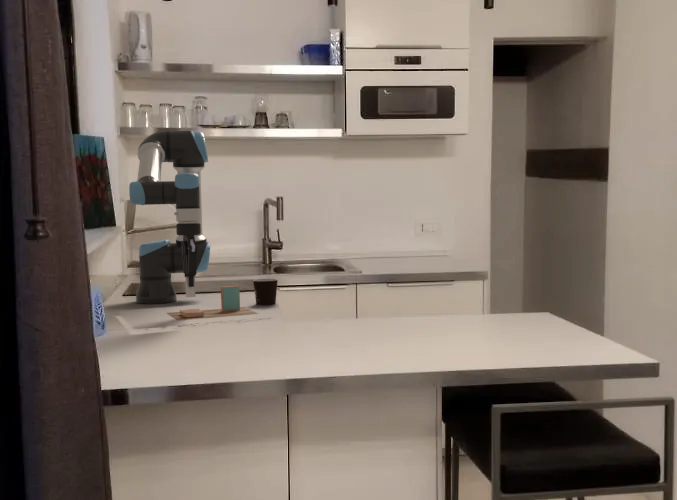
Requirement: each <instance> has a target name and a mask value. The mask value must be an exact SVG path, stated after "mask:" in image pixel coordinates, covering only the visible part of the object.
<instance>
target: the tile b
mask: <svg viewBox="0 0 677 500" xmlns="http://www.w3.org/2000/svg"><path fill="white" fill-rule="evenodd" d="M240 294H241V291H240V285H229V286H228V285H227V286H220V300H221V301H220V305H221V306H220V309H221V311H233V310H240V307H241V300H240V299H241V298H240V297H241V295H240Z"/></svg>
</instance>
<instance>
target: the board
mask: <svg viewBox="0 0 677 500" xmlns="http://www.w3.org/2000/svg"><path fill="white" fill-rule="evenodd" d="M200 310H201V311H203V312H204V316H203V317H192V318H185V317H184V316H182V315H181V314H180V311H177V312H175V311H174V312H166V314H168V315H169V316H170V317H172V319H174V320H176V321H186V320H188V321H189V320H199V319H211V318H212V319H213V318H220V317H222V318H223V317H237V316H246V315H247V316H248V315H258V314H259V313H258V312H256V311H254V310H251V309H249V308H247V307H244V306H240V310H233V311H221V308H213V309H212V308H211V309H200ZM253 319H257V318H253ZM241 320H244V319H241ZM230 321H233V319H231V320H230ZM218 322H222V320H221V321H218ZM207 323H210V322H206V324H207ZM195 324H196V325H197V324H198V322H197V323H195ZM183 325H186V323H184V324H183Z"/></svg>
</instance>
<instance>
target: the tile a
mask: <svg viewBox="0 0 677 500" xmlns="http://www.w3.org/2000/svg"><path fill="white" fill-rule="evenodd" d="M201 310H202V309H199V308H192V309H179V312H180V314H181V315H182V316H184V317H185V318H192V317H203V316H204V312H203V311H201Z"/></svg>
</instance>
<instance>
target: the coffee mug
mask: <svg viewBox="0 0 677 500" xmlns="http://www.w3.org/2000/svg"><path fill="white" fill-rule="evenodd" d="M252 283H253V291H254V297H255V298H254V299H255V305H257V306H272V305H276V304H277V294H278V293H277V291H278V278H256V279H253V280H252Z"/></svg>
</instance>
